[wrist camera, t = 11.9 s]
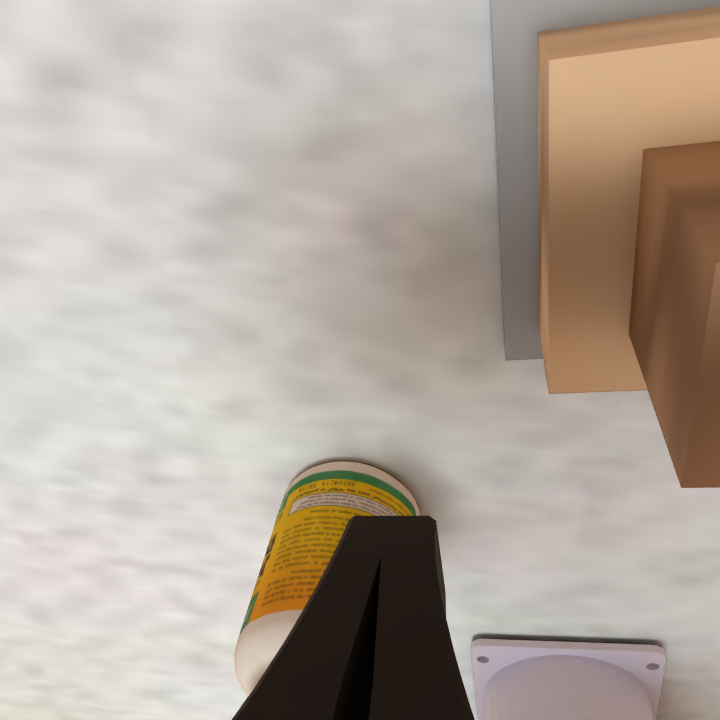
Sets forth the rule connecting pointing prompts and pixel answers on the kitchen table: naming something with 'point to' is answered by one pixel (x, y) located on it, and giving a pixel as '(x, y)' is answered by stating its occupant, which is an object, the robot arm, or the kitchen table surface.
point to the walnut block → (681, 303)
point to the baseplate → (535, 140)
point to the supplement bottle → (308, 551)
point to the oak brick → (609, 175)
